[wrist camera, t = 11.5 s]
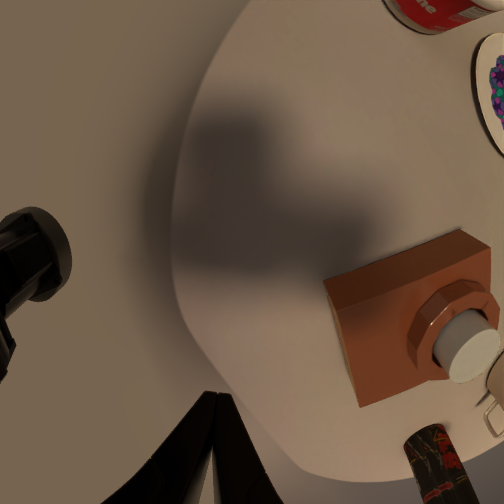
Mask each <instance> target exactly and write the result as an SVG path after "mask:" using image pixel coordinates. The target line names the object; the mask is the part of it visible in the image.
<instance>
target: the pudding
mask: <svg viewBox="0 0 504 504" xmlns="http://www.w3.org/2000/svg"><path fill="white" fill-rule="evenodd" d="M476 84H477V91H478V97H479V101H480V105H481V110H482V113H483V116H484V119H485V122H486V125H487V127H488V129H489V131H490V133H491V136H492V137H493V139H494V141H495V143H496V144H497V146H498V148H499V149H500V150H501V151H502V153H503V154H504V33H496V34H492V35H491V36H489V37H487V38H486V39H485V41H484V42H483V43H482V45H481V47H480V50H479V52H478V57H477V63H476Z"/></svg>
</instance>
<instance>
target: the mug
mask: <svg viewBox="0 0 504 504" xmlns="http://www.w3.org/2000/svg"><path fill="white" fill-rule="evenodd" d="M487 387H488V389H489V390H490V392H491V393H492V395H493V396H494V398H495V401H494V402H493V403H492V404H491V406H490V407H489V408H488V409H487V410H486V412H485V413H484V421H485V423H486V425H487V427H488V429H489V431H490V432H491V434H492V435H493V437H495V438H500V437H502V436H503V435H504V430H503V431H502V432H501V433H500V434H499V435H497V433H496V432H495V430H494V429H493V427H492V425H491V424H490V422H489V420H488V414H489V413H490V412H491V411H492V410H493V409H494V407H495V406H496V405H497V404H498V403H499V405H500V406H501V408H502V409H503V411H504V353H503V354H502V355H501V356H500V358H499V359H498V360H497V362H496V363H495V365H494V366H493V368H492V370H491V372H490V375H489V377H488V380H487Z"/></svg>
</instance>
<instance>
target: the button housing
mask: <svg viewBox="0 0 504 504" xmlns="http://www.w3.org/2000/svg"><path fill="white" fill-rule="evenodd" d="M323 283H324V287H325V290H326V294H327V297H328V301H329V304H330V308H331V311H332V315H333V318H334V322H335V326H336V329H337V333H338V337H339V340H340V344H341V348H342V352H343V356H344V359H345V363H346V367H347V371H348V375H349V378H350V381H351V384H352V387H353V390H354V393H355V396H356V399H357V402H358V405H359V407H360V408H361V407H364V406H367V405H370V404H372V403H375V402H378V401H380V400H383V399H386V398H388V397H391V396H393V395H396V394H398V393H401V392H403V391H406V390H408V389H410V388H413V387H415V386H417V385H419V384H422V383H424V382H426V381H428V380H446V379H449V377H448V375H447V374H446V372H445V371H444V369H443V368H442V366H441V365H440V363H439V362H438V360H437V359H436V357H435V356H434V352H433V347H434V343H435V341H436V339H437V337H438V335H439V333H440V330H441V329H442V328H443V327H444V326H445V325H446V324H447V323H448V322H449V321H450V320H451V319H452V318H453V317H454V316H455V315H457V314H459V313H461V312H463V311H465V310H469V309H471V310H476V311H478V312H479V313H480V314H481V315H482V316H483V317H484V318H485V319H486V320H487V321H488V322H489V323H490V324H491V325H492V326H493V327H494V328H495V329H496V330H497V329H498V322H499V313H500V308H499V306H498V304H497V302H496V300H495V299H494V297H493V295H492V294H491V293H490V283H491V248H490V247H489V246H488V245H486V244H484V243H483V242H481V241H479V240H478V239H476V238H474V237H472V236H471V235H469V234H467V233H465V232H464V231H462V230H460V229H459V230H457V231H454V232H452V233H449V234H447V235H445V236H442V237H440V238H437V239H435V240H432V241H430V242H427V243H425V244H422V245H420V246H417V247H415V248H412V249H409V250H407V251H404V252H402V253H399V254H396V255H394V256H391V257H388V258H386V259H383V260H380V261H378V262H375V263H372V264H370V265H367V266H364V267H362V268H359V269H356V270H353V271H350V272H348V273H345V274H342V275H339V276H336V277H334V278H331V279H328V280H325V281H323Z"/></svg>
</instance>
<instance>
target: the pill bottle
mask: <svg viewBox="0 0 504 504" xmlns="http://www.w3.org/2000/svg"><path fill="white" fill-rule="evenodd" d="M385 2H386V4H387V6H388V7H389V9H390V10H391V11H392V12H393V14H394V15H395V16H396V17H397V18H398V19H399V20H400V21H401V22H403V23H404V24H406V25H407V26H409V27H410V28H412V29H414V30H416V31H419V32H422V33H426V34H439V33H442V32H445V31H447V30H450V29H452V28H455V27H457V26H460V25H462V24H465V23H467V22H470V21H472V20H475V19H478V18H480V17H483V16H486V15H488V14H491V13H494V12H497V11H500V10H503V9H504V0H385Z"/></svg>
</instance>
